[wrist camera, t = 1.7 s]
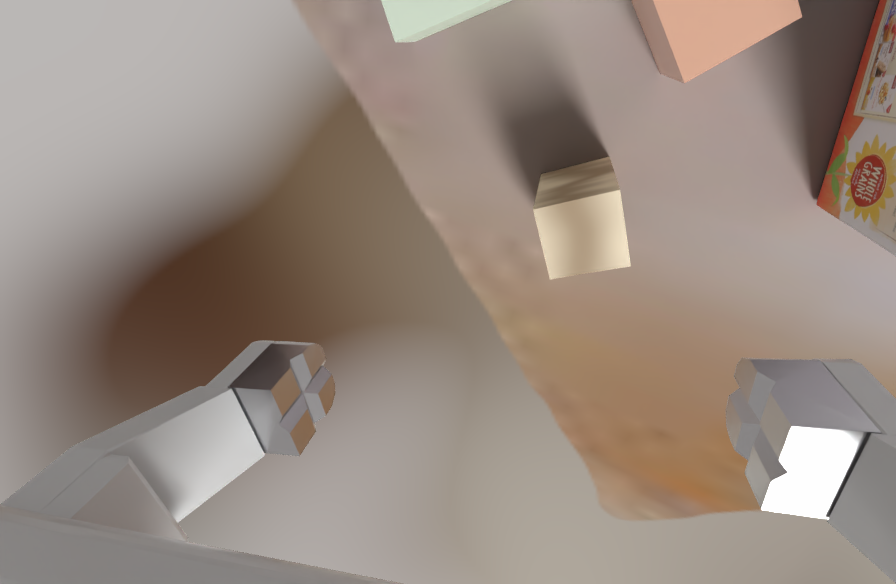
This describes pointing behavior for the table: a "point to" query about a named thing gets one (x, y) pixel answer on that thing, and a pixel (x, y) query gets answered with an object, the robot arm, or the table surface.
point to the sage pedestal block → (431, 15)
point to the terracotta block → (707, 30)
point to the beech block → (581, 219)
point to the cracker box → (868, 141)
